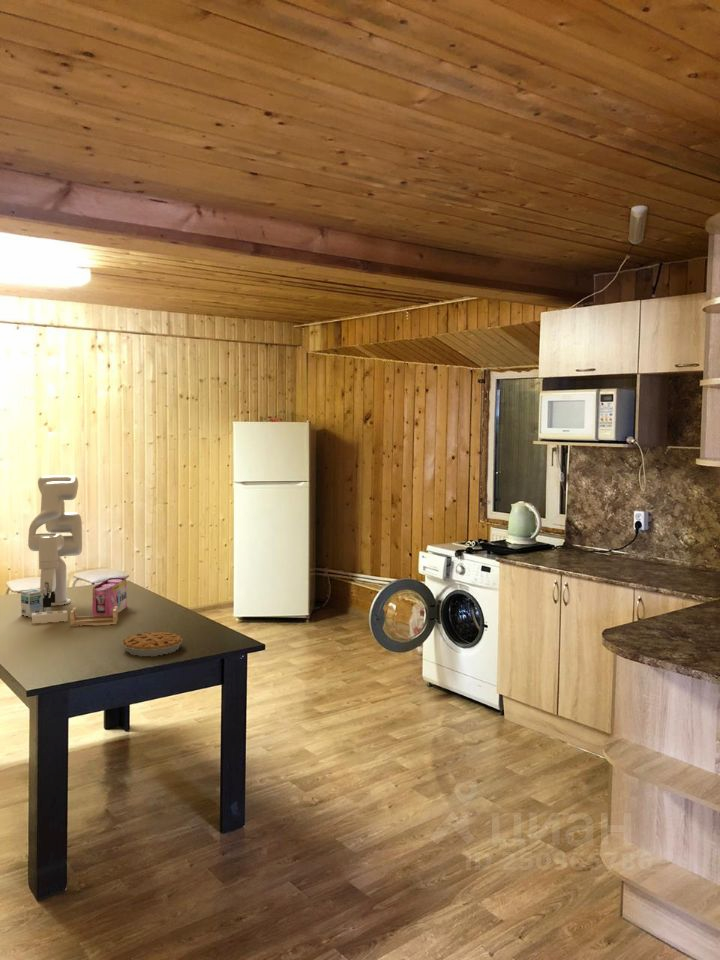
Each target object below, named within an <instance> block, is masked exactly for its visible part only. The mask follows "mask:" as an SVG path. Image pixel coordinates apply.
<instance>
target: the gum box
mask: <svg viewBox="0 0 720 960" xmlns="http://www.w3.org/2000/svg"><path fill="white" fill-rule="evenodd" d="M127 590H128V589H127V577H109V578H108V579H106V580H104V581H102V582H100V583H98V584H97V585H95V586H93V587H92V607H91V608H92V615H91V616H105V615H113V609H114V607H115V606H118V613H120V612H121V611H123V610H124V609H126V608H127V605H128V602H127V601H128V600H127V596H128V595H127Z"/></svg>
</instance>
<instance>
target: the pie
mask: <svg viewBox="0 0 720 960" xmlns="http://www.w3.org/2000/svg"><path fill="white" fill-rule="evenodd" d="M182 643H183V638H182V636H181V635H179V634H177V632H174V633H171V632H168V631H164V632H161V631H154V632H146V631H145V632H143V633H135V634H134V635H129V636H127V638H123V640H122V644H121V645H122V646H123V647H124V650H125V651H126V652H127V653H128V652H129V653H130V654H129V653H128V654H129V655H132V654H134V655H133V656H135V655H138V656H137V657H142V656H151V657H159V656H158V655H160V656H164V655H163V654H166V655H169V654H171V653H175V652H176V650H177V651H178V650H179V648H180V646H181V644H182ZM168 653H169V654H168Z"/></svg>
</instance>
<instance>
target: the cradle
mask: <svg viewBox="0 0 720 960" xmlns="http://www.w3.org/2000/svg"><path fill="white" fill-rule="evenodd" d="M69 616H70V619H69V620H70V621H69V622H70V625H69V626H70V627H83V626H82V625H93V626H111V625H110V624H116V625H117V623H118V621H119V612H118V606H115V607H114V609H113V615H105V616H92V615H84V616H83V615H82V616H77V607H76V606H75V607H74V606H73V607H72V609H71V610H70V615H69ZM79 625H80V626H79Z"/></svg>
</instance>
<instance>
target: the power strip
mask: <svg viewBox="0 0 720 960" xmlns="http://www.w3.org/2000/svg"><path fill="white" fill-rule="evenodd" d="M59 621H64V622H68V610H66V609H65V610H54V611H51V612H40V613H32V617H31V624H32V623H41V624H47V623H46V622H53V623H60V622H59Z"/></svg>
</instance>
